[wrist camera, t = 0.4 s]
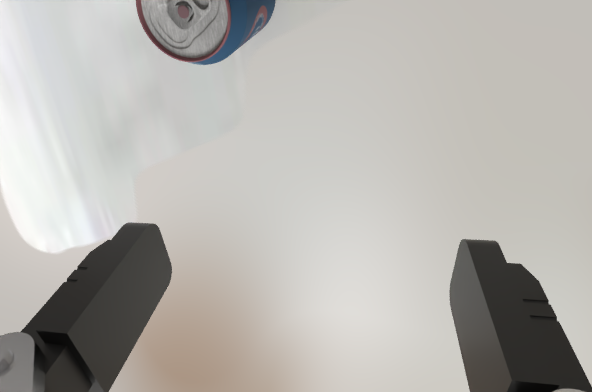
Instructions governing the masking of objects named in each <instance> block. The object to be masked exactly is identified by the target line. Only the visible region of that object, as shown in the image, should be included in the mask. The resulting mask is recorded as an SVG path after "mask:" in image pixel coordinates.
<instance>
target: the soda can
mask: <svg viewBox="0 0 592 392" xmlns="http://www.w3.org/2000/svg"><path fill="white" fill-rule="evenodd" d="M136 7H137V12H138V16H139V19H140V22H141V24H142V27H143V29H144V30H145V32H146V34H147V35H148V37H149V38H150V40H151V41H152V42H153V43H154V44H155V45H156V46H157V47H158V48H159V49H160V50H161V51H163V52H164V53H165V54H167V55H169V56H170V57H172V58H175V59H177V60H180V61H185V62H189V63H193V64H199V65H207V64H213V63H217V62H220V61H222V60H224V59H225V58H227V57H228V56H229V55H231V54H232V53H233V52H234V51H236V50H237V49H238V48H239V47H241V46H242V45H243V44H244V43H246V42H247V41H248V40H249V39H250V38H252V37H253V36H254V35H255V34H257V33H258V32H259V31H260V30H261V29H263V28H264V27H265V25H266V24H267V23H268V21H269V20H270V18H271V16H272V13H273V10H274V7H275V0H136Z"/></svg>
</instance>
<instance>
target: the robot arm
mask: <svg viewBox="0 0 592 392" xmlns="http://www.w3.org/2000/svg"><path fill="white" fill-rule="evenodd" d="M171 273H172V267H171V262H170V259H169V256H168V253H167V250H166V248H165V244H164V241H163V238H162V235H161V232H160V230H159V228H158V226H157V225H156V224H148V223H126V224H125V225H123V226H122V228H121V229H120V230H119V231H118V232H117V234H116V235H115V236H114V237H113V238H112V240H107V241H106V242H104V243H103V244H102V245H100V246H98V247H97V248H96V249H94V250H93V251H91V252H90V253H89V254H88V255H87V256H86V258H85V259H84V260H83V261H82V262H81V263H80V265H79V266H78V269H77V270H74V271H73V273H72V274H71V275H70V276H69V277H68V278H67V282H64V283H63V284H62V285H61V286H60V287H59V289H58V290H57V291H56V292H55V293H54V294H53V295H52V297H51V298H50V299H49V300H48V301H47V302H46V304H45V305H44V306H43V307H42V308H41V309H40V311H39V312H38V313H37V314H36V315H35V316H34V317H33V318H32V320H31V321H30V322H29V323H28V325H26V327H25V328H24V329H23V330H22V331H21V332H14V333H8V334H5V335H2V336H0V392H109V390H110V388H111V386H112V384H113V383H114V381H115V379H116V377H117V376H118V374H119V372H120V370H121V369H122V367H123V365H124V363H125V361H126V360H127V358H128V356H129V354H130V353H131V351H132V349H133V347H134V346H135V344H136V342H137V340H138V338H139V337H140V335H141V333H142V331H143V329H144V327H145V326H146V324H147V323H148V321H149V319H150V317H151V315H152V314H153V312H154V310H155V308H156V306H157V304H158V303H159V301H160V299H161V298H162V296H163V294H164V292H165V291H166V289H167V287H168V285H169V283H170V280H171ZM450 305H451V310H452V315H453V319H454V324H455V327H456V332H457V336H458V341H459V345H460V350H461V354H462V359H463V363H464V367H465V371H466V376H467V380H468V385H469V389H470V392H592V387H591V385H590V383H589V381H588V379H587V377H586V375H585V373H584V371H583V369H582V367H581V365H580V363H579V361H578V359H577V357H576V355H575V353H574V351H573V349H572V347H571V345H570V343H569V341H568V339H567V337H566V335H565V333H564V331H563V329H562V327H561V325H560V323H559V322H558V321H557V317H556V315H555V313H554V311H553V309H552V307H551V305H549V304H548V299H547V297H546V295H545V293H544V291H543V289H542V287H541V285H540V283H539V281H538V280H537V279H536V278H535V277H534V276H533V275H532V274H531V273H530V272H529V271H528V270H527V269H525V268H524V267H523V266H522V265H521V264H513V263H507V262H506V260H505V258H504V255H503V253H502V251H501V248H500V246H499V244H498V243H497V242H496V241H488V240H466V239H463V240H461V242H460V245H459V248H458V253H457V257H456V262H455V266H454V270H453V274H452V279H451V283H450Z"/></svg>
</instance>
